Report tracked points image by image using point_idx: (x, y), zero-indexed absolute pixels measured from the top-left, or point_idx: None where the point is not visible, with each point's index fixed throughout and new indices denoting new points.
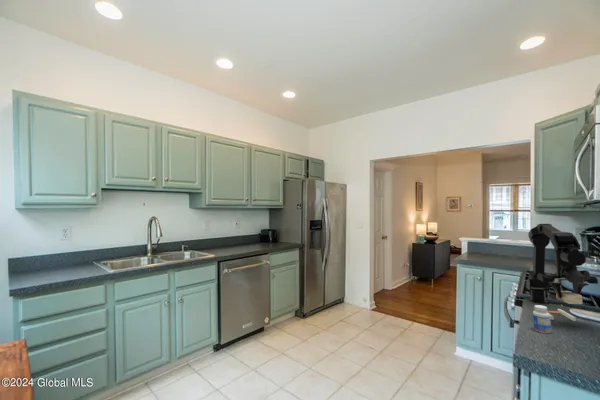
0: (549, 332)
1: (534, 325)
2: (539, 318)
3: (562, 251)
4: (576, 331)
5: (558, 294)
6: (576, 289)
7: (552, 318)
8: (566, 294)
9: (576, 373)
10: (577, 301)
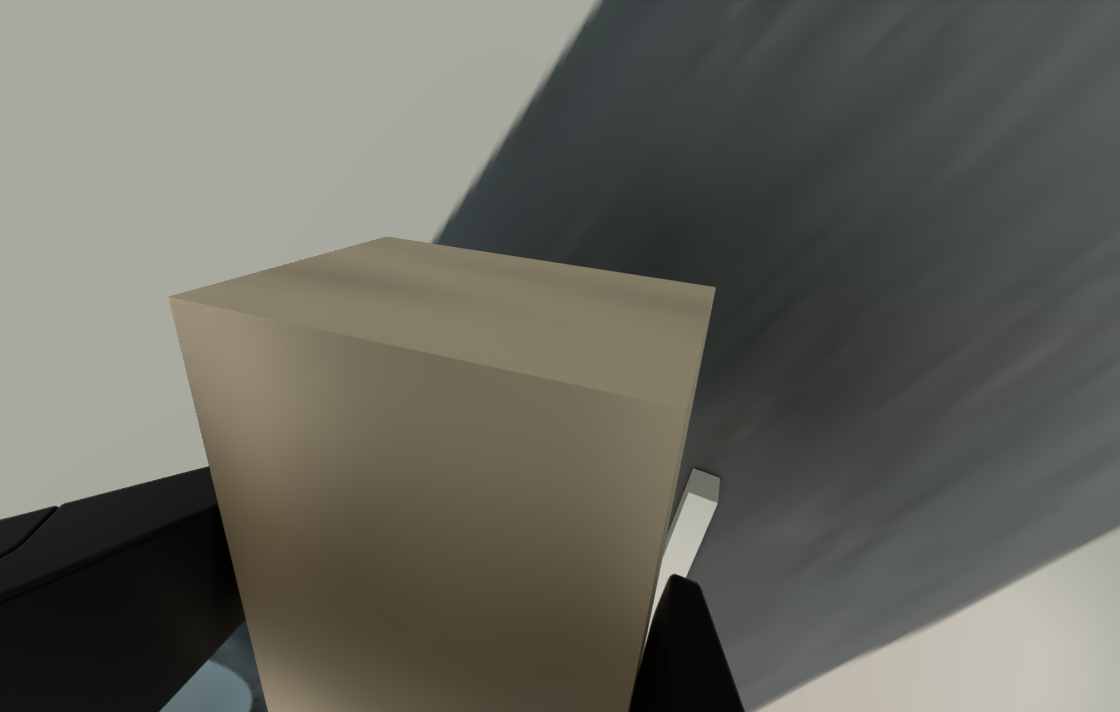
0: None
1: None
2: None
3: None
4: (777, 70)
5: (725, 703)
6: (50, 645)
7: (703, 479)
8: (645, 516)
9: None
10: (455, 268)
